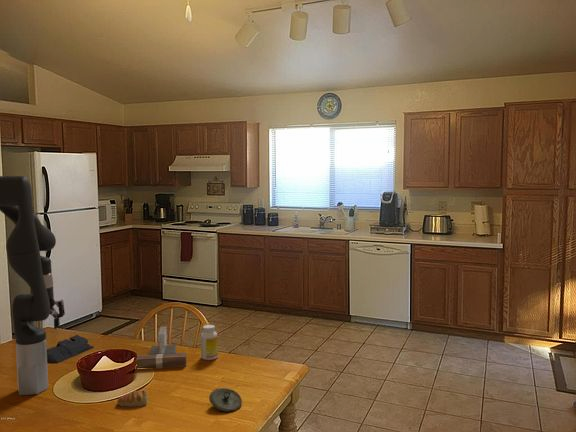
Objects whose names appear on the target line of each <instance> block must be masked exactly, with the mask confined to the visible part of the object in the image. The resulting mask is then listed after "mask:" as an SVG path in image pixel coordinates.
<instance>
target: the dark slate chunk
mask: <svg viewBox="0 0 576 432" xmlns="http://www.w3.org/2000/svg"><path fill="white" fill-rule="evenodd" d="M56 343H57V344H56V345H55V346H53V347H52V346H51V347H49V348H47V363H52V364H60V363H62V362H64V361H66V360H69V359H71V358H74V357H76V356H79V355H81V354H83V353H85V352H88V351H89V350H92V349H94V345H91V344H89V339H88V338H86V337H83V336H81V335H79V334H75V335H74V336H70V337H69V339H66V338H65V339H64V340H60V341H58V342H56Z"/></svg>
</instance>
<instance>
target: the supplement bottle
mask: <svg viewBox="0 0 576 432" xmlns="http://www.w3.org/2000/svg"><path fill="white" fill-rule="evenodd" d="M215 328H216V327H215V325H214V324H206V325H203V326H202V330H203V332H201V334H200V356H201V359H202V360H205V361H211V360H215V359H217V358H218V356H219V355H218V354H219V351H218V350H219V348H218V347H219V345H218V333H217V331H215V330H216V329H215Z"/></svg>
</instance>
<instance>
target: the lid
mask: <svg viewBox="0 0 576 432" xmlns="http://www.w3.org/2000/svg"><path fill="white" fill-rule="evenodd" d="M208 398H209V402H210V404H211V405H212V406H213V407H214V408H215V409H216V410H218V411H220V412H223V413H228V412H229V413H230V412H234V411H237V410H239V409H240V408H241V407H242V403H243V401H242V398H241V395H240V394H239V393H238V392H237V391H235V390H234V389H230V388H226V387H223V388H216V389H214V390H212V391H211V392H210V394H209V396H208Z"/></svg>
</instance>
